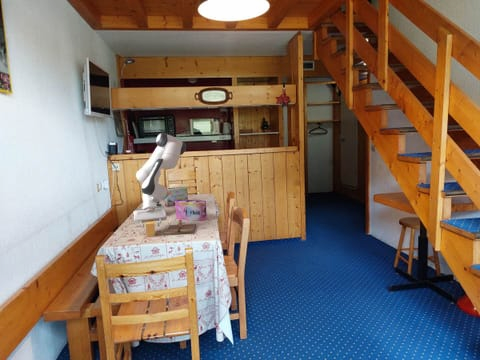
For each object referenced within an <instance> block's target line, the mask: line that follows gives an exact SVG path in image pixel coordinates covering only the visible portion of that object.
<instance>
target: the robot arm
mask: <svg viewBox="0 0 480 360" xmlns="http://www.w3.org/2000/svg"><path fill="white" fill-rule="evenodd" d="M155 144H156V145H157V146H156V147H155V149H154V151H152V154H151V155H150V157H149V158H148V160H147V161H146V162H145V163H144V164H143V165H142V166H141V168H140V169H139V170H137V171H136V173H135V177H136V179H137V181H138V182H139V183H141V186H140V188H141V192H142V195H141V196H142V197H141V198H142V206H141V208H140V209H135V210H134V211H132V212H133V222H134V223H135V224H140V226H141V228H142V229H144V228H145V223H146V222H153V221H154V222H157V227H160V226H161V223H162V221H166V220H167V219H168V215H167V211H166V209H165V207H164V206H165V205H164V204H163V203H161V202H162V201H163V200H164V201H165V198H166V197H167V195H168V190H169V189H168V188H167V187H166V186H164V185H162V184H160V183H159V182H160V181H159V180H160V177H161V175H162V173H161V172H162V171H161V170H172V169H174V168H176V167H177V165H178V163H179V160H180V157H181V156H183V154H184V153H185V152H186V149H187V144H186V143H185V142H184V141H182V140H180V139H178V138H177V137H175V136H173V135H171V134H168V133H166V132H164V131H163V132H160V133H159V134H158V135H157V137H156V139H155ZM143 223H144V224H143Z"/></svg>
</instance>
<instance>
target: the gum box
mask: <svg viewBox="0 0 480 360" xmlns="http://www.w3.org/2000/svg"><path fill="white" fill-rule="evenodd" d="M174 207H175V219H176V220H184V221H195V220H196V221H199V222H202V221H205V220H206V219H208V214H207V213H208V212H207V202H206V200H203V199H202V200H200V199H188V200H178V201H175V206H174Z"/></svg>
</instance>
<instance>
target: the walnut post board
mask: <svg viewBox="0 0 480 360" xmlns="http://www.w3.org/2000/svg"><path fill="white" fill-rule="evenodd" d="M177 220H178V221H177V222H178V224H169V225H168V227H166V229H165V231H164V232H163V236H177V235H178V236H179V235H193V234H194V232H195V231H196V230H195V229H196V227H197V223H187V224H182V223H183V221H182V220H183V219H177Z"/></svg>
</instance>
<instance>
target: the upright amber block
mask: <svg viewBox="0 0 480 360" xmlns="http://www.w3.org/2000/svg"><path fill="white" fill-rule="evenodd" d="M155 227H156V225H155V221H151V222H145V231H146V232H145V233H146V237H147V238H149V237H156V228H155Z"/></svg>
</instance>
